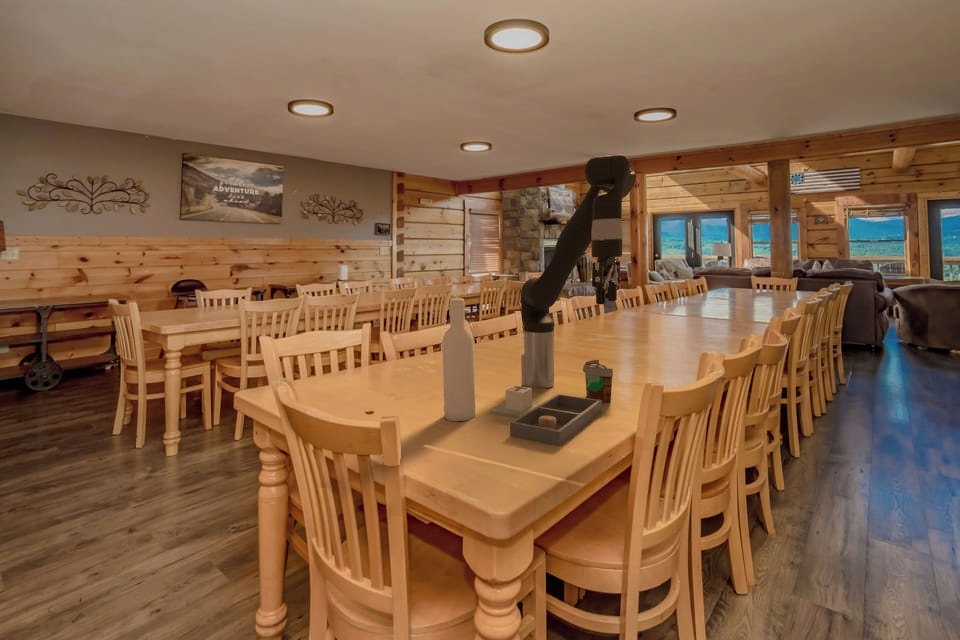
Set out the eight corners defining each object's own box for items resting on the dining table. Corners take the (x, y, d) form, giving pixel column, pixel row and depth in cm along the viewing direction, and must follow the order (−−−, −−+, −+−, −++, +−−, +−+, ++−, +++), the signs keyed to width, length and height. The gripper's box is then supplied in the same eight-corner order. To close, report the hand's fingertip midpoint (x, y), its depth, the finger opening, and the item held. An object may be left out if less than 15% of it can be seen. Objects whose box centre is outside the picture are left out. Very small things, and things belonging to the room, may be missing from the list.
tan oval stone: (535, 432, 111) (535, 419, 111) (543, 427, 115) (543, 414, 114) (551, 435, 109) (551, 422, 109) (559, 430, 112) (559, 417, 112)
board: (489, 414, 126) (489, 410, 126) (510, 403, 135) (510, 399, 135) (527, 421, 120) (527, 417, 120) (547, 409, 129) (547, 405, 129)
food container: (577, 393, 143) (577, 360, 142) (597, 392, 143) (598, 359, 142) (590, 406, 131) (590, 369, 129) (612, 405, 131) (613, 368, 130)
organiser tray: (510, 437, 110) (509, 422, 109) (558, 406, 131) (558, 393, 131) (559, 447, 103) (559, 431, 103) (601, 413, 125) (601, 400, 124)
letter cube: (505, 408, 127) (505, 389, 126) (515, 403, 131) (515, 385, 130) (522, 412, 124) (522, 392, 123) (532, 406, 128) (532, 387, 127)
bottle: (481, 418, 123) (479, 298, 119) (454, 424, 119) (450, 301, 115) (465, 409, 130) (462, 297, 126) (438, 415, 126) (435, 298, 122)
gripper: (602, 239, 131) (601, 299, 133) (581, 238, 119) (582, 304, 121) (630, 237, 127) (629, 300, 129) (612, 237, 115) (611, 305, 117)
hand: (606, 302), depth 125 cm, fingers open, 8 cm apart
